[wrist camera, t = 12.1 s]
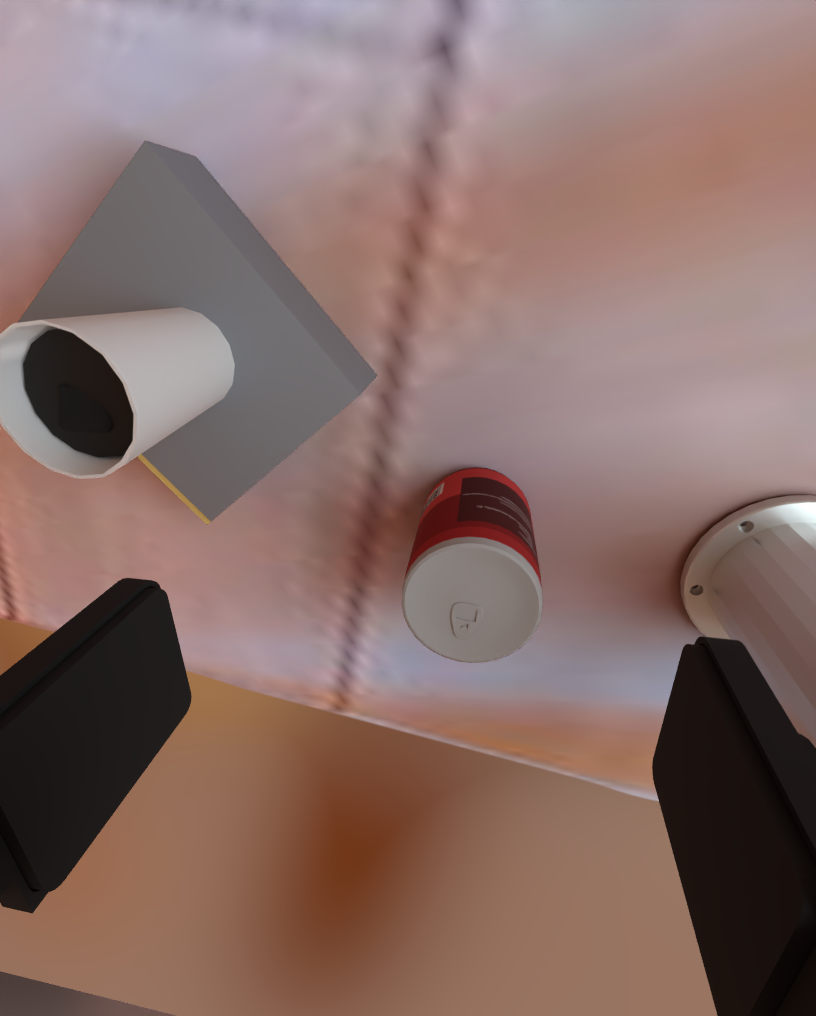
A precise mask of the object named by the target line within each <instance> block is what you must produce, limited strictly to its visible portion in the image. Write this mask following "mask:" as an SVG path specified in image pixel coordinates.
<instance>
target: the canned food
mask: <svg viewBox="0 0 816 1016" xmlns="http://www.w3.org/2000/svg"><path fill="white" fill-rule="evenodd" d="M542 603H543V597H542V586H541V577H540V570H539V564H538V558H537V551H536V545H535V539H534V533H533V526H532V520H531V514H530V509H529V505H528V502H527V500H526V498H525V496H524V494H523V492H522V491H521V490H520V489H519V487H518V486H517V485H516V484H515V483H514V482H513V481H511V480H510V479H509V478H507V477H506V476H505V475H503V474H501V473H499V472H497V471H494V470H490V469H486V468H468V469H463V470H460V471H457V472H455V473H453V474H451V475H449V476H447V477H446V478H444V479H443V480H442V481H441V482H439V483H438V484H437V485H436V486H435V487H434V489H433V490H432V491H431V492H430V494H429V496H428V498H427V500H426V502H425V505H424V509H423V512H422V516H421V520H420V523H419V527H418V531H417V534H416V538H415V542H414V545H413V549H412V552H411V556H410V560H409V563H408V567H407V571H406V575H405V580H404V584H403V588H402V609H403V614H404V618H405V620H406V622H407V624H408V627H409V628H410V630H411V631H412V633H413V634H414V636H415V637H416V638H417V639H418V640H419V641H420V642H421V643H422V644H423V645H424V646H426V647H427V648H429V649H430V650H432V651H433V652H435V653H437V654H439V655H441V656H443V657H445V658H449V659H452V660H456V661H460V662H469V663H478V662H488V661H493V660H498V659H500V658H503V657H505V656H508V655H510V654H512V653H513V652H515V651H516V650H518V649H520V648H521V647H522V646H523V645H524V644H525V643H526V642H527V641H528V640H529V639H530V638H531V636H532V635H533V634H534V632H535V631H536V629H537V626H538V624H539V622H540V619H541V614H542Z"/></svg>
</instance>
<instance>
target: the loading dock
mask: <svg viewBox="0 0 816 1016" xmlns="http://www.w3.org/2000/svg"><path fill="white" fill-rule="evenodd" d="M178 307H183V308H186V309H189V310H192V311H195V312H199V313H201V314H202V315H204V316H205V317H206V318H207V319H209V320H210V321H211V322H213V323H214V324H215V325H216V326H218V328H219V329H220V331H221V332H222V334H223V335H224V337H225V338H226V340H227V342H228V343H229V345H230V348H231V352H232V356H233V360H234V364H235V368H234V377H233V384H232V386H231V387H230V389H229V391H228V392H227V394H226V396H225V397H224V399H222V400H220V401H219V402H217V403H216V404H215V405H213V406H212V407H210V408H209V409H207V410H206V411H204V412H203V413H201V414H200V415H198V416H197V417H195V418H194V419H192V420H191V421H189V422H188V423H186V424H185V425H183V426H182V427H180V428H179V429H177V430H176V431H174V432H173V433H171V434H170V435H168V436H167V437H165V438H164V439H162V440H161V441H160V442H158V443H157V444H155V445H154V446H152V447H151V448H149V449H148V450H146V451H145V452H143V453H142V454H140V455H139V456H137V457H138V458H139V459H140V460H141V461H142V462H143V463H144V464H145V465H146V466H147V467H148V468H149V469H150V470H151V471H152V472H153V473H154V474H155V475H156V476H157V477H158V478H159V479H160V480H161V481H162V482H163V483H164V484H165V485H166V486H167V487H168V488H169V489H171V490H172V491H173V492H174V493H175V494H176V495H177V496H178V497H179V498H180V499H181V500H182V501H183V502H184V503H185V504H186V505H187V506H188V507H189V508H190V509H191V510H192V511H193V512H194V513H195V514H196V515H197V516H198V517H199V518H200V519H201V520H202V521H203V522H205V523H206V524H207V525H208V524H209V523H210V522H211V521H212V520H214V519H215V518H216V517H217V516H218V515H219V514H221V513H222V512H223V511H224V510H225V509H226V508H228V507H229V506H230V505H231V504H232V503H233V502H235V501H236V500H237V499H238V498H239V497H241V496H242V495H243V494H244V493H245V492H246V491H248V490H249V489H250V488H251V487H252V486H253V485H255V484H256V483H257V482H258V481H259V480H260V479H262V478H263V477H264V476H265V475H266V474H267V473H269V472H270V471H271V470H272V469H273V468H274V467H276V466H277V465H278V464H279V463H280V462H281V461H283V460H284V459H285V458H286V457H287V456H289V455H290V454H291V453H292V452H293V451H294V450H296V449H297V448H298V447H299V446H300V445H301V444H303V443H304V442H305V441H306V440H307V439H308V438H310V437H311V436H312V435H313V434H314V433H315V432H317V431H318V430H319V429H320V428H321V427H322V426H324V425H325V424H326V423H327V422H328V421H329V420H331V419H332V418H333V417H334V416H335V415H336V414H338V413H339V412H340V411H341V410H342V409H344V408H345V407H346V406H347V405H348V404H349V403H351V402H352V401H353V400H354V399H355V398H356V397H358V396H359V395H360V394H361V393H362V392H363V391H364V390H365V389H366V387H367V386H368V385H369V384H370V383H371V382H372V381H373V380H374V379H375V378H376V377H377V374H376V373H375V372H374V371H373V370H372V368H371V367H370V366H369V365H368V363H367V362H366V361H365V360H364V359H363V357H362V356H361V355H360V354H359V353H358V351H357V350H356V349H355V348H354V347H353V345H352V344H351V343H350V342H349V341H348V339H347V338H346V337H345V336H344V335H343V333H342V332H341V331H340V330H339V328H338V327H337V326H336V325H335V324H334V322H333V321H332V320H331V319H330V318H329V316H328V315H327V314H326V313H325V312H324V310H323V309H322V308H321V307H320V306H319V304H318V303H317V302H316V301H315V300H314V298H313V297H312V296H311V295H310V293H309V292H308V291H307V290H306V289H305V287H304V286H303V285H302V284H301V283H300V281H299V280H298V279H297V278H296V277H295V275H294V274H293V273H292V272H291V271H290V269H289V268H288V267H287V266H286V265H285V263H284V262H283V261H282V260H281V258H280V257H279V256H278V255H277V254H276V252H275V251H274V250H273V249H272V248H271V246H270V245H269V244H268V243H267V242H266V240H265V239H264V238H263V237H262V236H261V234H260V233H259V232H258V231H257V230H256V228H255V227H254V226H253V225H252V223H251V222H250V221H249V220H248V219H247V217H246V216H245V215H244V214H243V213H242V211H241V210H240V209H239V208H238V207H237V205H236V204H235V203H234V202H233V201H232V199H231V198H230V197H229V196H228V195H227V193H226V192H225V191H224V190H223V188H222V187H221V186H220V185H219V184H218V182H217V181H216V180H215V179H214V178H213V176H212V175H211V174H210V173H209V172H208V170H207V169H206V168H205V167H204V166H203V164H202V163H201V162H200V161H199V160H198V158H197V157H195V156H192V155H189V154H186V153H183V152H180V151H177V150H173V149H170V148H167V147H164V146H161V145H158V144H155V143H152V142H148V141H144V143H143V144H142V145H141V147H140V148H139V150H138V151H137V153H136V154H135V156H134V157H133V158H132V160H131V161H130V163H129V164H128V166H127V167H126V168H125V170H124V171H123V173H122V174H121V176H120V177H119V178H118V180H117V181H116V183H115V184H114V186H113V187H112V188H111V190H110V191H109V193H108V194H107V196H106V197H105V198H104V200H103V201H102V203H101V204H100V206H99V207H98V208H97V210H96V211H95V213H94V214H93V216H92V217H91V218H90V220H89V221H88V223H87V224H86V226H85V227H84V228H83V230H82V231H81V233H80V234H79V236H78V237H77V239H76V240H75V241H74V243H73V244H72V246H71V247H70V249H69V250H68V251H67V253H66V254H65V256H64V257H63V259H62V260H61V261H60V263H59V264H58V266H57V267H56V269H55V270H54V271H53V273H52V274H51V276H50V277H49V279H48V280H47V281H46V283H45V284H44V286H43V287H42V289H41V290H40V291H39V293H38V294H37V296H36V297H35V299H34V300H33V301H32V303H31V304H30V306H29V307H28V309H27V310H26V311H25V313H24V314H23V316H22V317H21V319H20V320H19V322H18V323H20V322H28V321H36V320H45V319H56V318H67V317H78V316H89V315H100V314H111V313H122V312H134V311H145V310H156V309H167V308H178Z"/></svg>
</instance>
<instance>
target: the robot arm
mask: <svg viewBox="0 0 816 1016" xmlns="http://www.w3.org/2000/svg"><path fill="white" fill-rule="evenodd" d="M680 585H681V597H682V601H683V604H684V607H685V609H686V611H687V613H688V615H689V617H690V619H691V621H692V622H693V623H694V625H695V626H696V627H697V629H698V630H699V631H700V632H701V633H702V634H704V635H705V636H706V637H699V638H698V639H697V640H696V642H695V644H694V645H692V644H686V645H685V646H684V648H683V650H682V654H681V657H680V661H679V665H678V668H677V672H676V676H675V680H674V683H673V687H672V691H671V694H670V698H669V702H668V706H667V709H666V713H665V717H664V720H663V724H662V728H661V731H660V735H659V739H658V743H657V746H656V750H655V754H654V757H653V766H652V769H653V780H654V784H655V788H656V792H657V795H658V799H659V803H660V806H661V810H662V813H663V817H664V821H665V824H666V828H667V832H668V836H669V839H670V843H671V846H672V850H673V854H674V858H675V861H676V865H677V869H678V872H679V876H680V879H681V883H682V887H683V890H684V894H685V898H686V901H687V905H688V908H689V912H690V916H691V919H692V924H693V927H694V930H695V934H696V938H697V942H698V945H699V949H700V953H701V956H702V960H703V964H704V967H705V971H706V975H707V978H708V982H709V985H710V989H711V993H712V996H713V1000H714V1004H715V1007H716V1011H717V1015H718V1016H816V496H813V495H790V496H784V497H778V498H772V499H767V500H764V501H761V502H758V503H755V504H752V505H749V506H747V507H745V508H742V509H740V510H738V511H736V512H734V513H732V514H730V515H729V516H727V517H726V518H724V519H723V520H721V521H720V522H718V523H717V524H716V525H714V526H713V527H712V528H711V529H710V530H709V531H708V532H707V533H706V534H705V535H703V536H702V537H701V538H700V540H699V541H698V542H697V544H696V545H695V546H694V548H693V549H692V550H691V552H690V554H689V556H688V558H687V560H686V562H685V564H684V567H683V571H682V576H681V580H680ZM190 703H191V691H190V687H189V682H188V678H187V674H186V670H185V666H184V662H183V658H182V654H181V650H180V645H179V641H178V637H177V633H176V629H175V625H174V621H173V617H172V612H171V608H170V604H169V600H168V596H167V594H166V592H165V591H164V590H162V589H161V588H160V585H159V584H158V583H157V582H155V581H152V580H142V579H132V578H125V579H122V580H120V581H118V582H117V583H116V584H114V585H113V586H112V587H111V588H109V589H108V590H107V591H106V592H104V593H103V594H102V595H101V596H99V597H98V598H97V599H96V600H94V601H93V602H92V603H91V604H89V605H88V606H87V607H86V608H84V609H83V610H82V611H81V612H79V613H78V614H77V615H76V616H74V617H73V618H72V619H71V620H69V621H68V622H67V623H66V624H64V625H63V626H62V627H61V628H59V629H58V630H57V631H56V632H54V633H53V634H52V635H51V636H49V637H48V638H47V639H46V640H44V641H43V642H42V643H41V644H39V645H38V646H37V647H36V648H35V649H33V650H32V651H31V652H29V653H28V654H27V655H26V656H24V657H23V658H22V659H21V660H19V661H18V662H17V663H16V664H14V665H13V666H12V667H11V668H9V669H8V670H7V671H6V672H4V673H3V674H2V675H1V676H0V903H1V905H2V906H3V907H7V908H11V909H16V910H21V911H25V912H29V913H33V912H34V911H35V909H36V908H37V907H38V905H39V904H40V902H41V901H42V900H43V899H44V897H45V896H46V894H47V893H48V892H50V891H53V890H55V889H56V888H57V887H58V886H60V885H61V884H62V882H63V881H64V880H65V879H66V877H67V876H68V874H69V873H70V872H71V871H72V869H73V868H74V867H75V865H76V864H77V862H78V861H79V860H80V858H81V857H82V856H83V854H84V853H85V851H86V850H87V849H88V847H89V846H90V845H91V843H92V842H93V841H94V839H95V838H96V836H97V835H98V834H99V832H100V831H101V829H102V828H103V827H104V825H105V824H106V823H107V821H108V820H109V819H110V817H111V816H112V814H113V813H114V812H115V810H116V809H117V808H118V806H119V805H120V804H121V802H122V801H123V799H124V798H125V797H126V795H127V794H128V793H129V791H130V790H131V789H132V787H133V786H134V784H135V783H136V782H137V780H138V779H139V778H140V776H141V775H142V773H143V772H144V771H145V769H146V768H147V767H148V765H149V764H150V763H151V761H152V760H153V758H154V757H155V756H156V754H157V753H158V752H159V750H160V749H161V747H162V746H163V745H164V743H165V742H166V741H167V739H168V738H169V737H170V735H171V734H172V732H173V731H174V730H175V728H176V727H177V726H178V724H179V723H180V721H181V720H182V719H183V717H184V716H185V714H186V713H187V711H188V709H189V707H190ZM0 1016H176V1015H171V1014H168V1013H164V1012H159V1011H156V1010H152V1009H148V1008H144V1007H140V1006H136V1005H132V1004H128V1003H124V1002H121V1001H117V1000H112V999H109V998H105V997H101V996H96V995H93V994H88V993H84V992H81V991H76V990H73V989H68V988H64V987H60V986H56V985H52V984H48V983H44V982H40V981H36V980H32V979H28V978H24V977H20V976H16V975H12V974H8V973H4V972H0Z"/></svg>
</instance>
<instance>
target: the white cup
mask: <svg viewBox="0 0 816 1016" xmlns="http://www.w3.org/2000/svg"><path fill="white" fill-rule="evenodd" d="M234 368H235V364H234V360H233V356H232V352H231V348H230V345H229V343H228V342H227V340H226V338H225V337H224V335H223V334H222V332H221V331H220V329H219V328H218V326H216V325H215V324H214V323H213V322H211V321H210V320H209V319H207V318H206V317H205V316H204V315H202V314H201V313H199V312H195V311H192V310H189V309H186V308H183V307H178V308H167V309H156V310H145V311H134V312H122V313H111V314H100V315H89V316H78V317H67V318H56V319H45V320H36V321H28V322H20V323H13V324H12V325H10V326H9V327H8V328H7V329H5V330H4V331H3V332H2V333H1V334H0V424H1V426H2V427H3V428H4V429H5V431H6V432H7V433H8V434H9V435H10V436H11V438H12V439H13V440H14V441H15V442H16V443H17V445H18V446H19V447H20V448H21V449H22V450H23V452H25V453H26V454H28V455H29V456H31V457H32V458H33V459H35V460H36V461H38V462H39V463H41V464H42V465H44V466H45V467H47V468H48V469H49V470H52V471H55V472H58V473H61V474H64V475H67V476H71V477H74V478H77V479H85V478H101V477H106V476H107V475H109V474H110V473H112V472H114V471H115V470H117V469H119V468H120V467H122V466H124V465H125V464H127V463H128V462H130V461H131V460H133V459H134V458H136V457H137V456H139V455H140V454H142V453H143V452H145V451H146V450H148V449H149V448H151V447H152V446H154V445H155V444H157V443H158V442H160V441H161V440H162V439H164V438H165V437H167V436H168V435H170V434H171V433H173V432H174V431H176V430H177V429H179V428H180V427H182V426H183V425H185V424H186V423H188V422H189V421H191V420H192V419H194V418H195V417H197V416H198V415H200V414H201V413H203V412H204V411H206V410H207V409H209V408H210V407H212V406H213V405H215V404H216V403H217V402H219V401H220V400H222V399H224V397H225V396H226V394H227V392H228V391H229V389H230V387H231V386H232V384H233V377H234Z"/></svg>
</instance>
